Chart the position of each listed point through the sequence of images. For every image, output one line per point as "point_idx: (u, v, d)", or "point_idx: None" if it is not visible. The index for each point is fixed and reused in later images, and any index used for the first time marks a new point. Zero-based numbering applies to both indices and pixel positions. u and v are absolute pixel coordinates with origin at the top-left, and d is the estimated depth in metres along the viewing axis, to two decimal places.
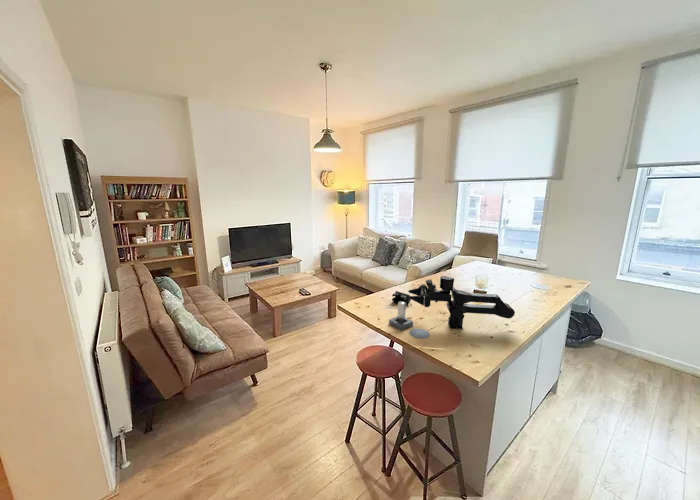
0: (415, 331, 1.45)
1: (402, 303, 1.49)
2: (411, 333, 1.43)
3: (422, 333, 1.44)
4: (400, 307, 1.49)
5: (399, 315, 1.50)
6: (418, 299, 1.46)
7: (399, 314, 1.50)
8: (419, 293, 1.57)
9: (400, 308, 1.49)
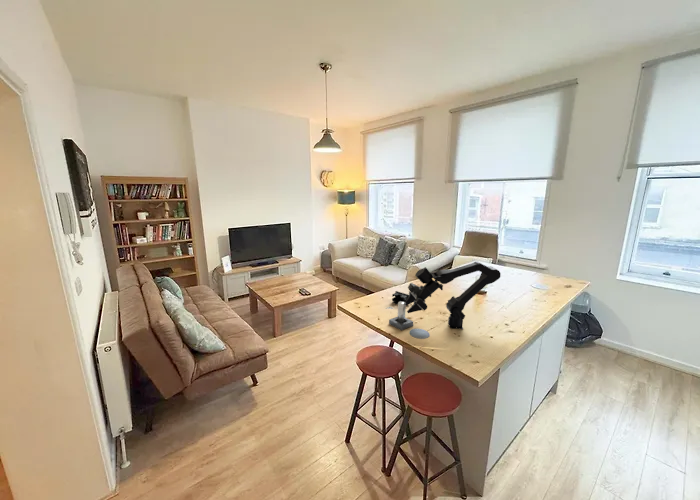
0: (415, 331, 1.45)
1: (402, 303, 1.49)
2: (411, 333, 1.43)
3: (422, 333, 1.44)
4: (400, 307, 1.49)
5: (399, 315, 1.50)
6: (415, 308, 1.44)
7: (399, 314, 1.50)
8: (413, 299, 1.55)
9: (400, 308, 1.49)
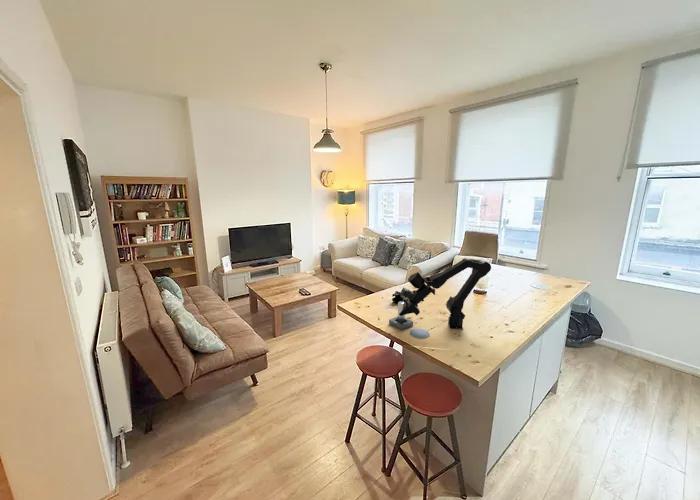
0: (415, 331, 1.45)
1: (402, 303, 1.49)
2: (411, 333, 1.43)
3: (422, 333, 1.44)
4: (400, 307, 1.49)
5: (399, 315, 1.50)
6: (406, 311, 1.47)
7: None
8: (407, 305, 1.53)
9: (400, 308, 1.49)
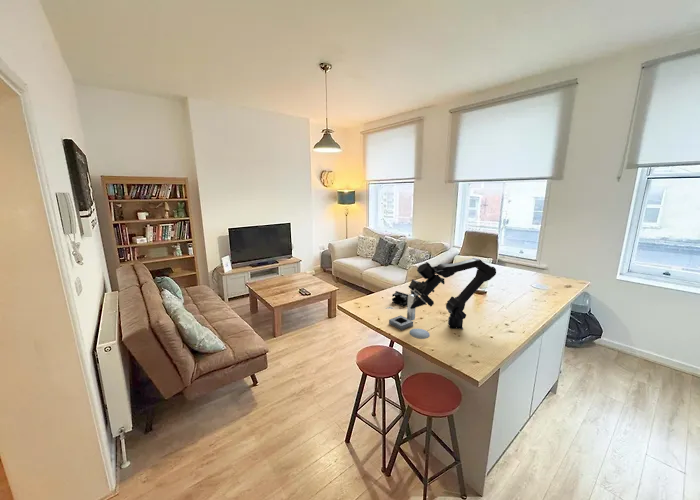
0: (415, 331, 1.45)
1: (412, 296, 1.43)
2: (411, 333, 1.43)
3: (422, 333, 1.44)
4: (411, 300, 1.42)
5: (410, 308, 1.43)
6: (418, 303, 1.41)
7: None
8: (416, 297, 1.47)
9: (411, 301, 1.42)
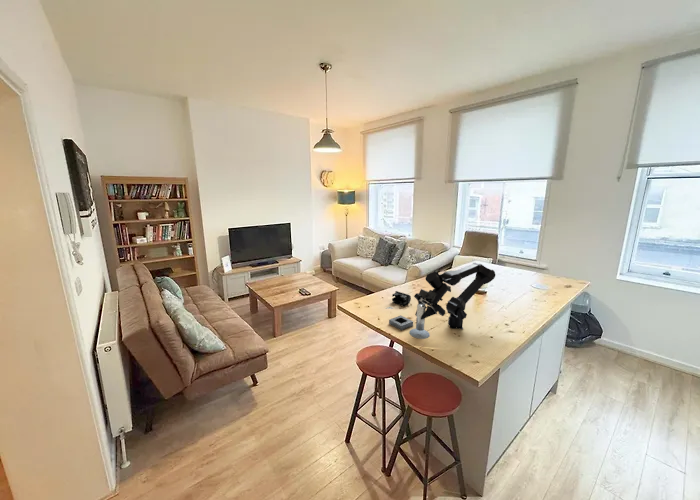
0: (415, 331, 1.45)
1: (422, 306, 1.40)
2: (411, 333, 1.43)
3: (422, 333, 1.44)
4: (421, 310, 1.39)
5: (420, 319, 1.40)
6: (428, 313, 1.39)
7: (420, 318, 1.40)
8: None
9: (422, 311, 1.39)
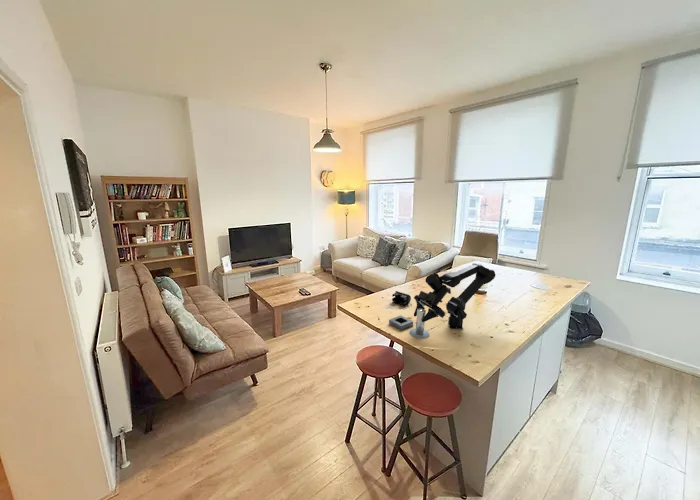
0: (415, 331, 1.45)
1: (422, 310, 1.40)
2: (411, 333, 1.43)
3: None
4: (421, 315, 1.40)
5: (420, 323, 1.41)
6: (430, 316, 1.38)
7: (420, 322, 1.41)
8: (422, 307, 1.46)
9: (422, 316, 1.40)
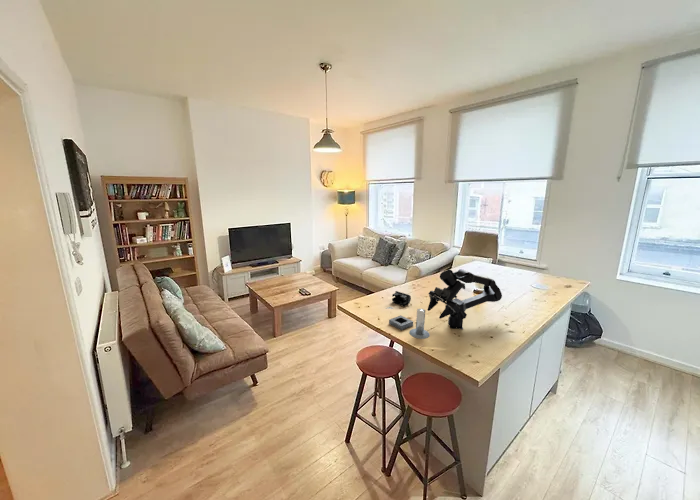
0: (415, 331, 1.45)
1: (422, 310, 1.40)
2: (411, 333, 1.43)
3: None
4: (421, 315, 1.40)
5: (420, 323, 1.41)
6: (447, 312, 1.41)
7: (420, 322, 1.40)
8: (435, 302, 1.51)
9: (421, 316, 1.40)
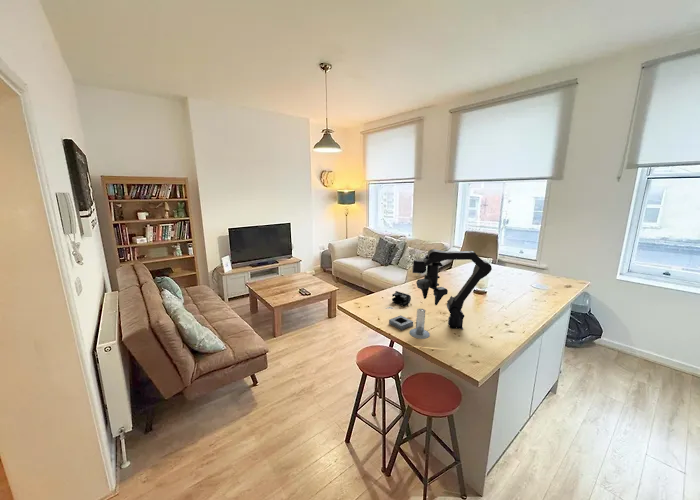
0: (415, 331, 1.45)
1: (422, 310, 1.40)
2: (411, 333, 1.43)
3: None
4: (421, 315, 1.40)
5: (420, 323, 1.41)
6: (438, 297, 1.46)
7: (420, 322, 1.41)
8: (426, 287, 1.55)
9: (421, 316, 1.40)
